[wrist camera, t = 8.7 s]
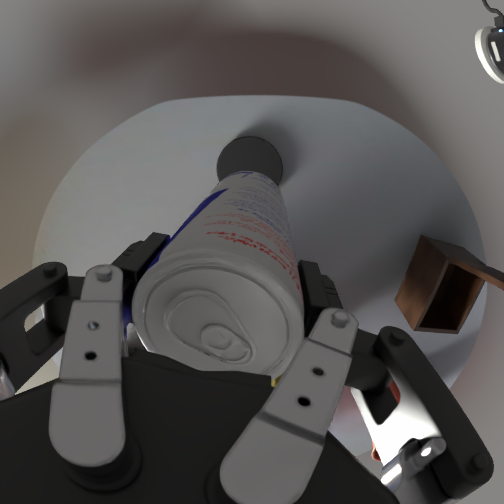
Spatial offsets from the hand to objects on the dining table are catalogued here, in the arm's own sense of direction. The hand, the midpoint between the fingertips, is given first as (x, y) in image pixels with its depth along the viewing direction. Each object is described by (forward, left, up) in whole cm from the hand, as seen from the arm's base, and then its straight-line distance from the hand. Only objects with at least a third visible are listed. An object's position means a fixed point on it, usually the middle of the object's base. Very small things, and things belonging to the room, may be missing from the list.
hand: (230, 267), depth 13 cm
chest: (+10, +33, -29) cm, 45 cm away
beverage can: (0, 0, -11) cm, 11 cm away
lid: (+3, +33, -13) cm, 36 cm away
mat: (0, -1, -29) cm, 29 cm away
